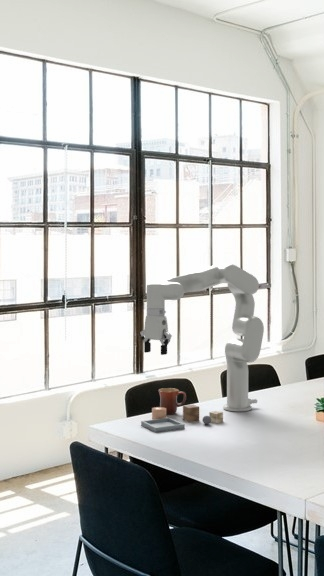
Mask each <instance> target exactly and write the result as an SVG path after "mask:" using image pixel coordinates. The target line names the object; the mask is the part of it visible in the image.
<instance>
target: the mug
mask: <svg viewBox="0 0 324 576" xmlns="http://www.w3.org/2000/svg"><path fill="white" fill-rule="evenodd" d="M158 393H159V398H160V400H159V401H160V402H159V407H164V408H166V414H167V415H166V416H169V415H170V416H171V415H175V414H176V413H177V410H178V407H181V406H184V405H185V404H184V403H186V400H187V395H186V394H187V393H186V392H185V391H180V390H179V389H178V388H175V387H174V388H173V387H167V388H166V387H165V388H159V389H158ZM181 394H182V395H183V400H182V401H181V402H180V403H179V402H178V400H177V399H178V396H179V395H181Z"/></svg>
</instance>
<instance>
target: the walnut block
mask: <svg viewBox="0 0 324 576" xmlns="http://www.w3.org/2000/svg"><path fill="white" fill-rule="evenodd" d="M182 421H185V422H188V423H192V422H194V423H195V422H200V406H199V405H196V404H187V405H185V404H183V405H182Z"/></svg>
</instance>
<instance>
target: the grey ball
mask: <svg viewBox="0 0 324 576" xmlns="http://www.w3.org/2000/svg"><path fill="white" fill-rule="evenodd" d="M202 423H203V424H205V426H206V425H210V424H211V423H212V422H211V418H210V417H209V415H204V416H203V417H202Z"/></svg>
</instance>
